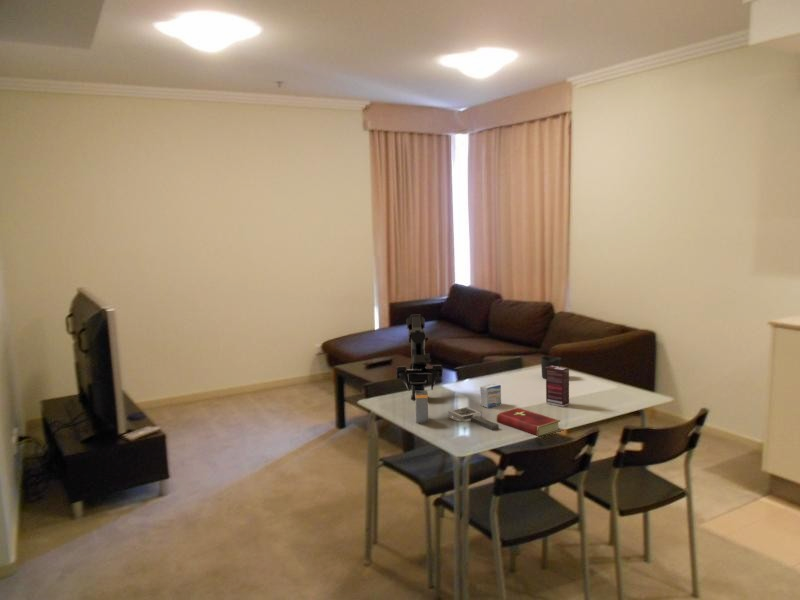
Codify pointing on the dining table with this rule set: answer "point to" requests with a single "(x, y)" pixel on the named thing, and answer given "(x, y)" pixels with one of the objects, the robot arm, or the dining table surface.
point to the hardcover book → (528, 421)
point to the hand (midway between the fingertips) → (420, 389)
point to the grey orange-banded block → (421, 406)
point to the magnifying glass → (471, 417)
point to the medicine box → (490, 395)
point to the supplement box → (557, 386)
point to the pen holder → (549, 363)
